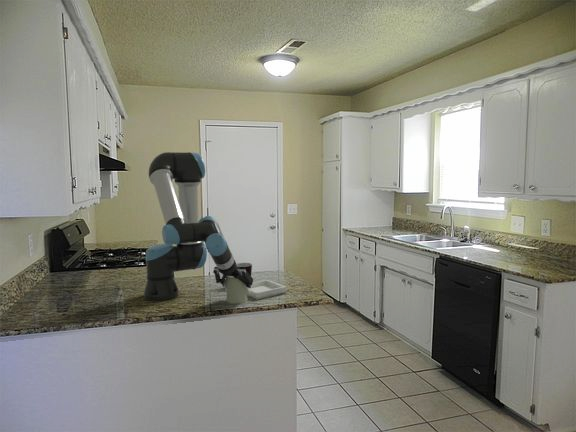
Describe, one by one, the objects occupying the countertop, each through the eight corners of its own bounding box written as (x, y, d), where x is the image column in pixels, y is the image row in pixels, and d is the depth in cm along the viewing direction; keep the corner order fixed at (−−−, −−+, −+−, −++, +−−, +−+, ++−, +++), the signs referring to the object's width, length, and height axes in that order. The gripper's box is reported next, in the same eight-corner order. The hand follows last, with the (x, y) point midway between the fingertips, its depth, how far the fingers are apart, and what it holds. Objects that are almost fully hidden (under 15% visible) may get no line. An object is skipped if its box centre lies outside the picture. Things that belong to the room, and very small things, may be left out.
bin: (256, 300, 178) (256, 293, 178) (238, 291, 191) (238, 285, 190) (286, 293, 187) (286, 286, 187) (267, 285, 200) (266, 279, 200)
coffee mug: (254, 282, 207) (253, 262, 205) (250, 287, 198) (250, 266, 197) (231, 281, 208) (231, 262, 207) (227, 286, 199) (226, 266, 198)
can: (236, 295, 184) (235, 269, 183) (251, 299, 179) (251, 272, 178) (221, 301, 177) (220, 274, 175) (237, 305, 171) (236, 277, 170)
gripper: (197, 269, 163) (214, 296, 181) (249, 271, 159) (261, 298, 176) (202, 253, 168) (218, 281, 185) (253, 255, 163) (264, 283, 181)
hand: (239, 289), depth 181 cm, fingers closed on can, 9 cm apart
